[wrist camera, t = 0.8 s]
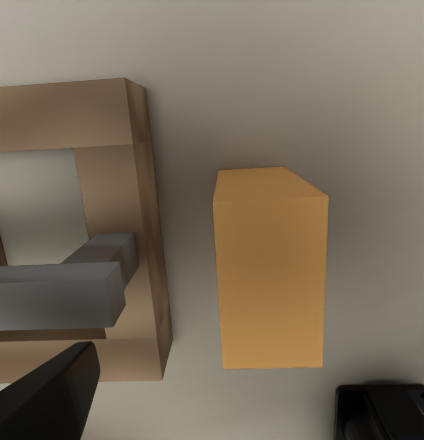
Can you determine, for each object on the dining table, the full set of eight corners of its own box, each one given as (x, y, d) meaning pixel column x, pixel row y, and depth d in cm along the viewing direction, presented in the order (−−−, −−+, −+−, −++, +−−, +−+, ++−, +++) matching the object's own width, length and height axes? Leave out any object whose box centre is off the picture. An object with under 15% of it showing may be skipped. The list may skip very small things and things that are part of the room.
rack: (172, 339, 23) (137, 475, 14) (-12, 343, 24) (-158, 476, 15) (145, 87, 19) (67, 49, 10) (-82, 104, 20) (-354, 83, 10)
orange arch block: (284, 271, 22) (322, 367, 13) (224, 273, 22) (223, 369, 13) (284, 166, 20) (328, 196, 11) (218, 170, 20) (212, 202, 11)
